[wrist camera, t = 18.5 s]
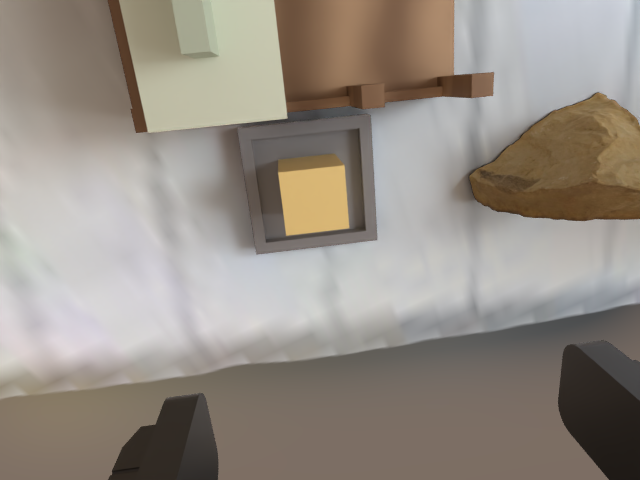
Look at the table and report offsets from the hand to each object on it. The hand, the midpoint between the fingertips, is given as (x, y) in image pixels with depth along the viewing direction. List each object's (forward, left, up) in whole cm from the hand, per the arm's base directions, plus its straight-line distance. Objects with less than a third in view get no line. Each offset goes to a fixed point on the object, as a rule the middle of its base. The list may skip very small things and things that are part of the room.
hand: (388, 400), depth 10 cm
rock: (-17, 0, -24) cm, 29 cm away
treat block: (0, 0, -23) cm, 23 cm away
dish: (0, 0, -24) cm, 24 cm away
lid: (+5, -11, -16) cm, 20 cm away
